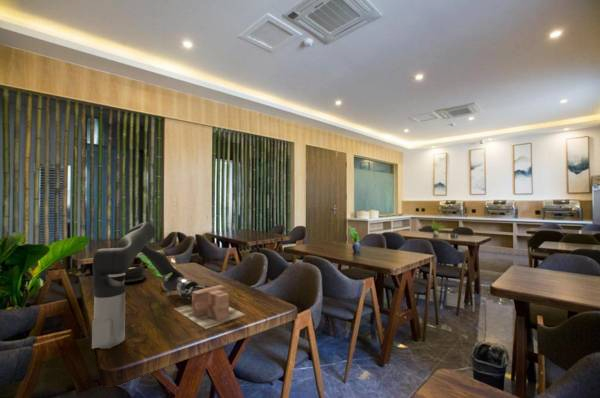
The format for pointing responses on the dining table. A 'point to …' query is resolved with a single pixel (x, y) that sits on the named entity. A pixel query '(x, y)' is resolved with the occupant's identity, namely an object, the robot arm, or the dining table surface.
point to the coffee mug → (118, 277)
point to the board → (207, 320)
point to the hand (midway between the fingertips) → (203, 295)
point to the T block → (211, 302)
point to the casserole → (134, 273)
